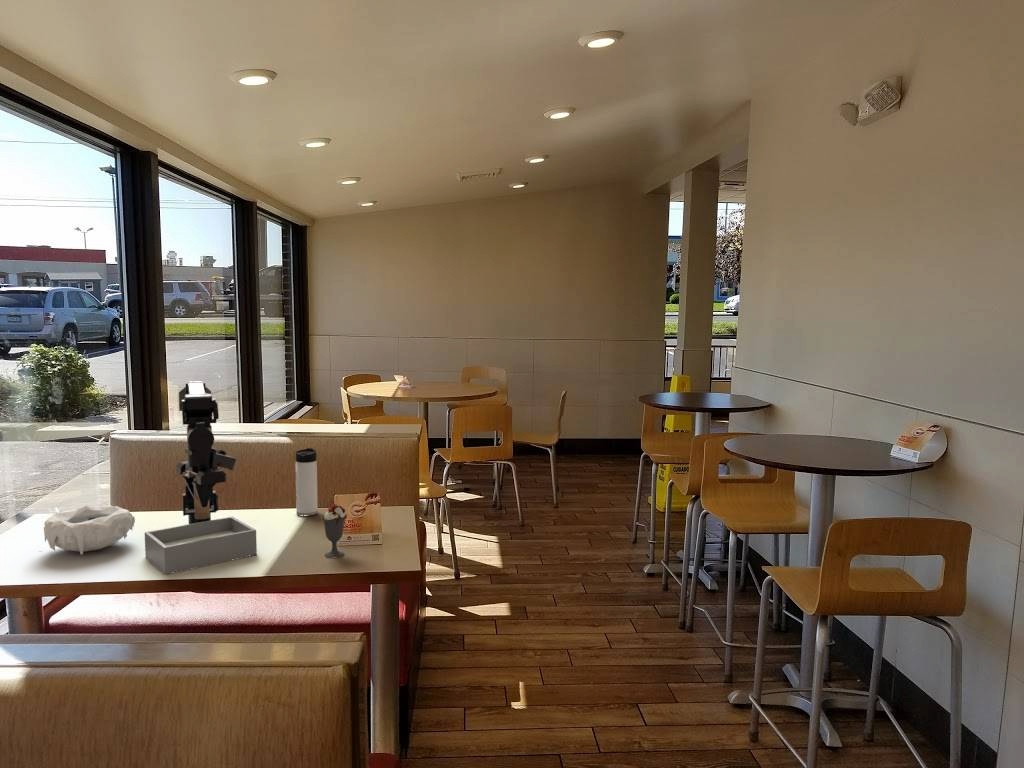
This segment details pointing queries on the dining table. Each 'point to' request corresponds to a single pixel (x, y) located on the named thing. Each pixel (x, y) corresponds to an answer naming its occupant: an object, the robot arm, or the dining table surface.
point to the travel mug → (306, 482)
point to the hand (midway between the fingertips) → (201, 505)
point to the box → (199, 544)
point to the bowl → (88, 527)
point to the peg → (200, 507)
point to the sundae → (334, 527)
